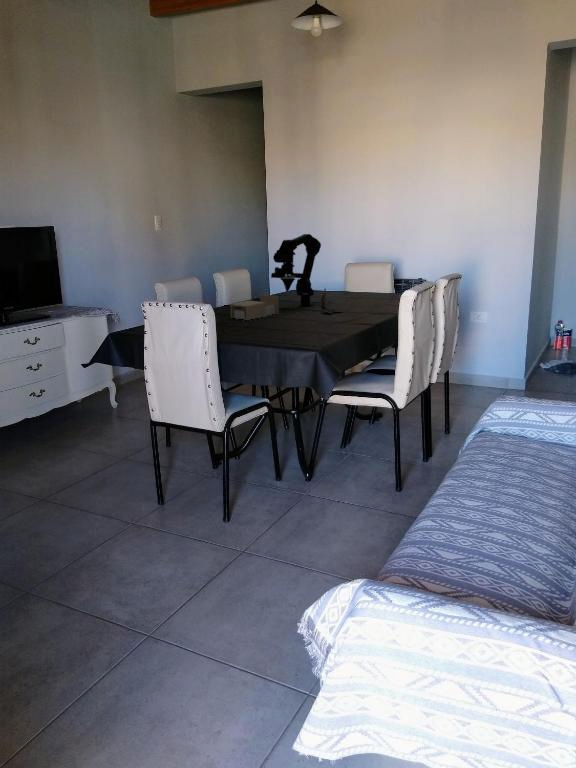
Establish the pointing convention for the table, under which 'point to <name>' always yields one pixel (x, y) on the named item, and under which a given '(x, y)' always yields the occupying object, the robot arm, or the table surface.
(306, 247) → the robot arm
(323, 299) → the butterfly
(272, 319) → the table surface
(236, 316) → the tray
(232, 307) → the sleeve
